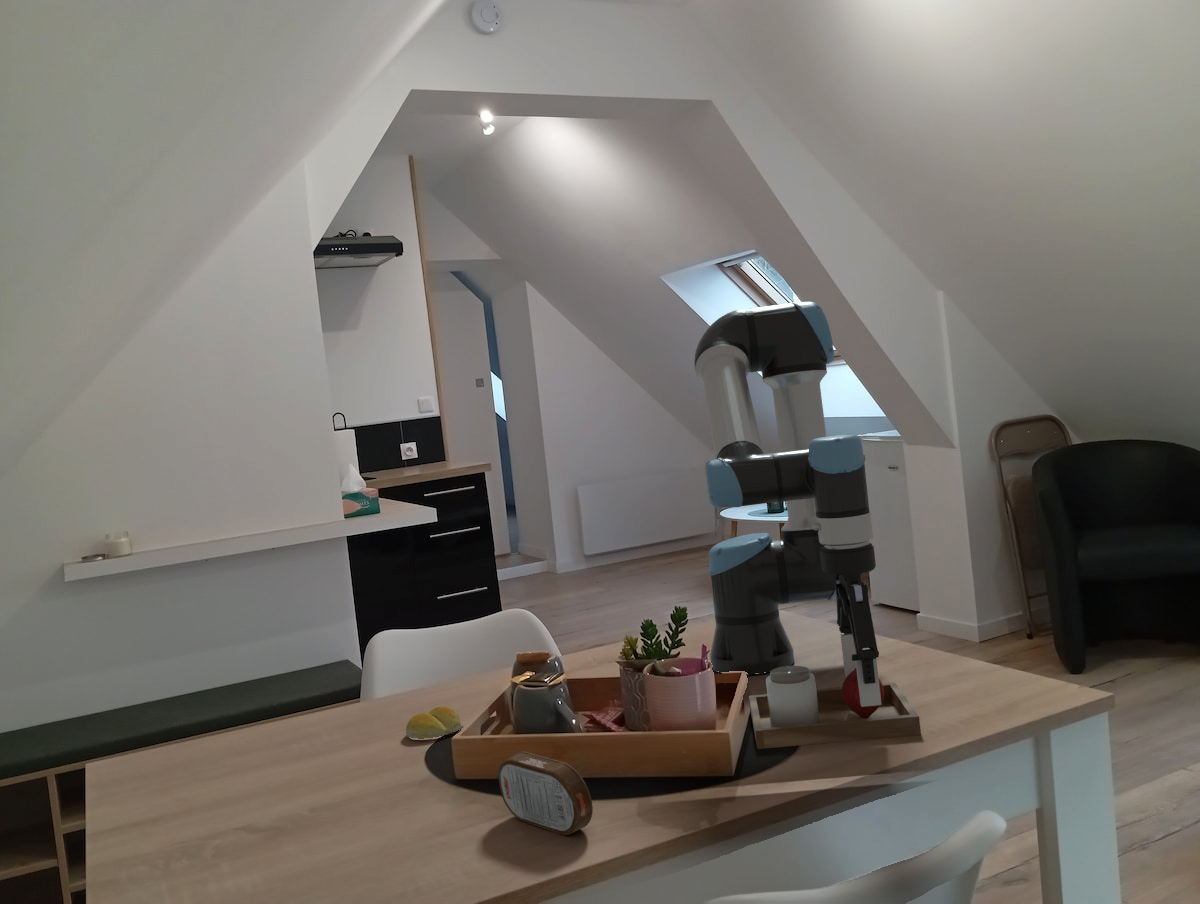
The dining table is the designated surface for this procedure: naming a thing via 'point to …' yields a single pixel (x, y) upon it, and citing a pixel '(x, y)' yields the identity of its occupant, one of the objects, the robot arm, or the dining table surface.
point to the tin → (545, 793)
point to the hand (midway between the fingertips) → (862, 690)
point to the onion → (853, 698)
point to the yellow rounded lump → (433, 723)
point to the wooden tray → (837, 721)
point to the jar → (792, 696)
